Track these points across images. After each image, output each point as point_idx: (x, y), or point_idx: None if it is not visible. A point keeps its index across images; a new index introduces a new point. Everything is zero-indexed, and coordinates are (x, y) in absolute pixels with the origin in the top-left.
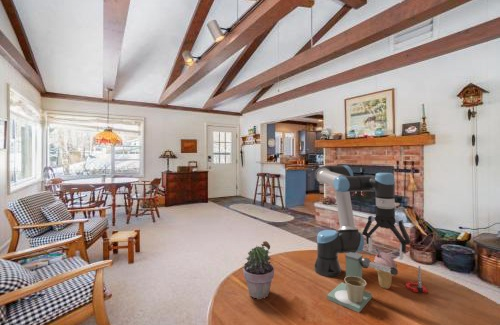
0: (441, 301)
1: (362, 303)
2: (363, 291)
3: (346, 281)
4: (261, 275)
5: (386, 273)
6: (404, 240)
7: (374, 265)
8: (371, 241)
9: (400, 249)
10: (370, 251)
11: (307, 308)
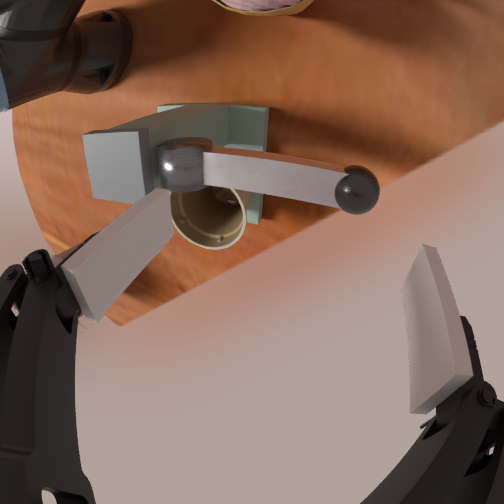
0: (471, 22)
1: (257, 194)
2: (247, 205)
3: (179, 202)
4: (82, 314)
5: (291, 12)
6: (479, 426)
7: (239, 189)
8: (114, 261)
9: (416, 364)
10: (171, 233)
11: (166, 259)
